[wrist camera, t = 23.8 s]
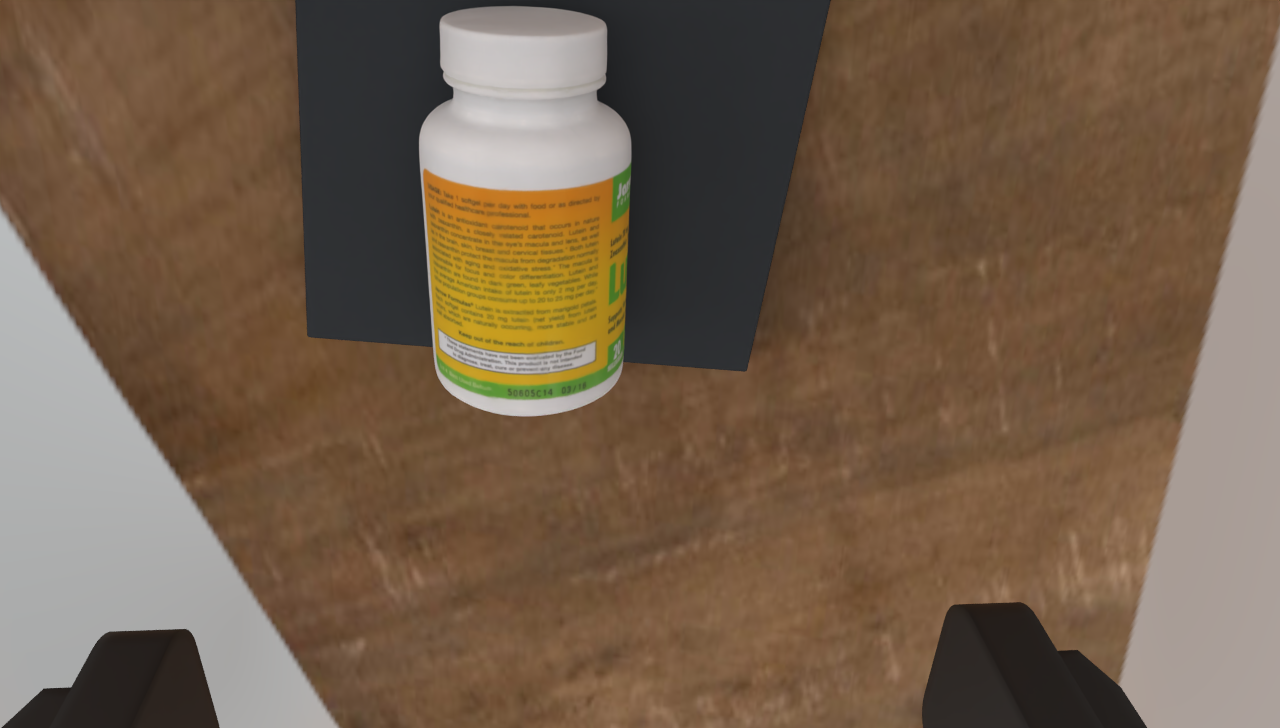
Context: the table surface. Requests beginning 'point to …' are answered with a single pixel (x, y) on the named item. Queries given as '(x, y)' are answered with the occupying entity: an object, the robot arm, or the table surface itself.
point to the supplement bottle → (526, 212)
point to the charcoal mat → (660, 161)
